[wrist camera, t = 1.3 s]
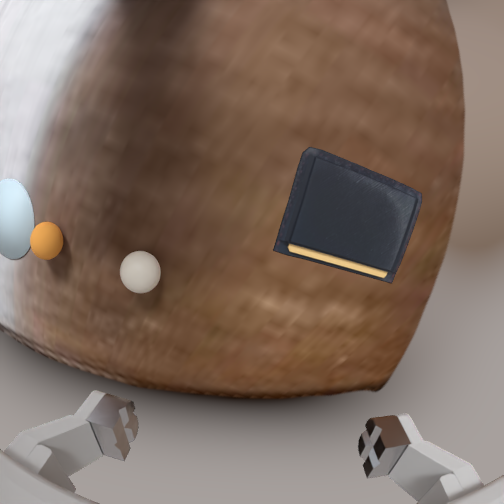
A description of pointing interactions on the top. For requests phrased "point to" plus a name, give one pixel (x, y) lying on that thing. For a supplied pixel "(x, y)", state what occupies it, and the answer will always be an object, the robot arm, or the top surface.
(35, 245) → the orange ball
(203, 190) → the top surface
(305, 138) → the top surface
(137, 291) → the white ping pong ball
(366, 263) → the wallet
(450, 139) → the top surface
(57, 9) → the top surface
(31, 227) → the light blue disc
